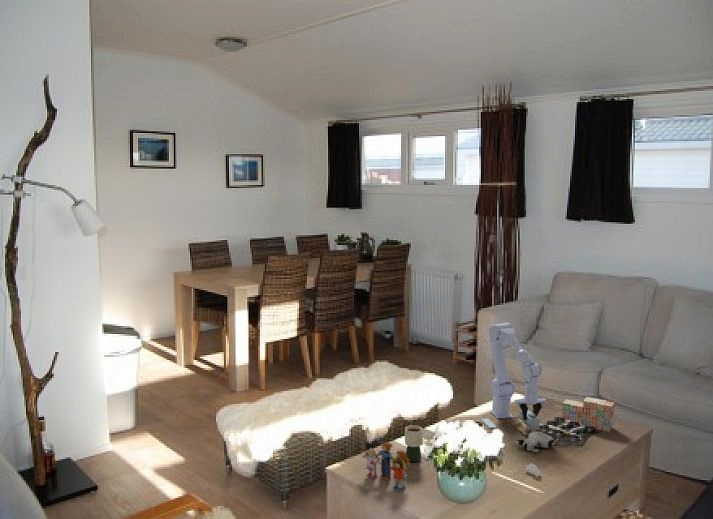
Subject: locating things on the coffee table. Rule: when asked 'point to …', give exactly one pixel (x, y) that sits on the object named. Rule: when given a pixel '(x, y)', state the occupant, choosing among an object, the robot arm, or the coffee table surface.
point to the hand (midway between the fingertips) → (529, 419)
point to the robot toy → (536, 441)
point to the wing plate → (488, 423)
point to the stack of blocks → (590, 413)
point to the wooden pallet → (521, 426)
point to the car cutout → (532, 469)
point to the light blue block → (531, 420)
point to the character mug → (413, 442)
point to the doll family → (388, 465)
